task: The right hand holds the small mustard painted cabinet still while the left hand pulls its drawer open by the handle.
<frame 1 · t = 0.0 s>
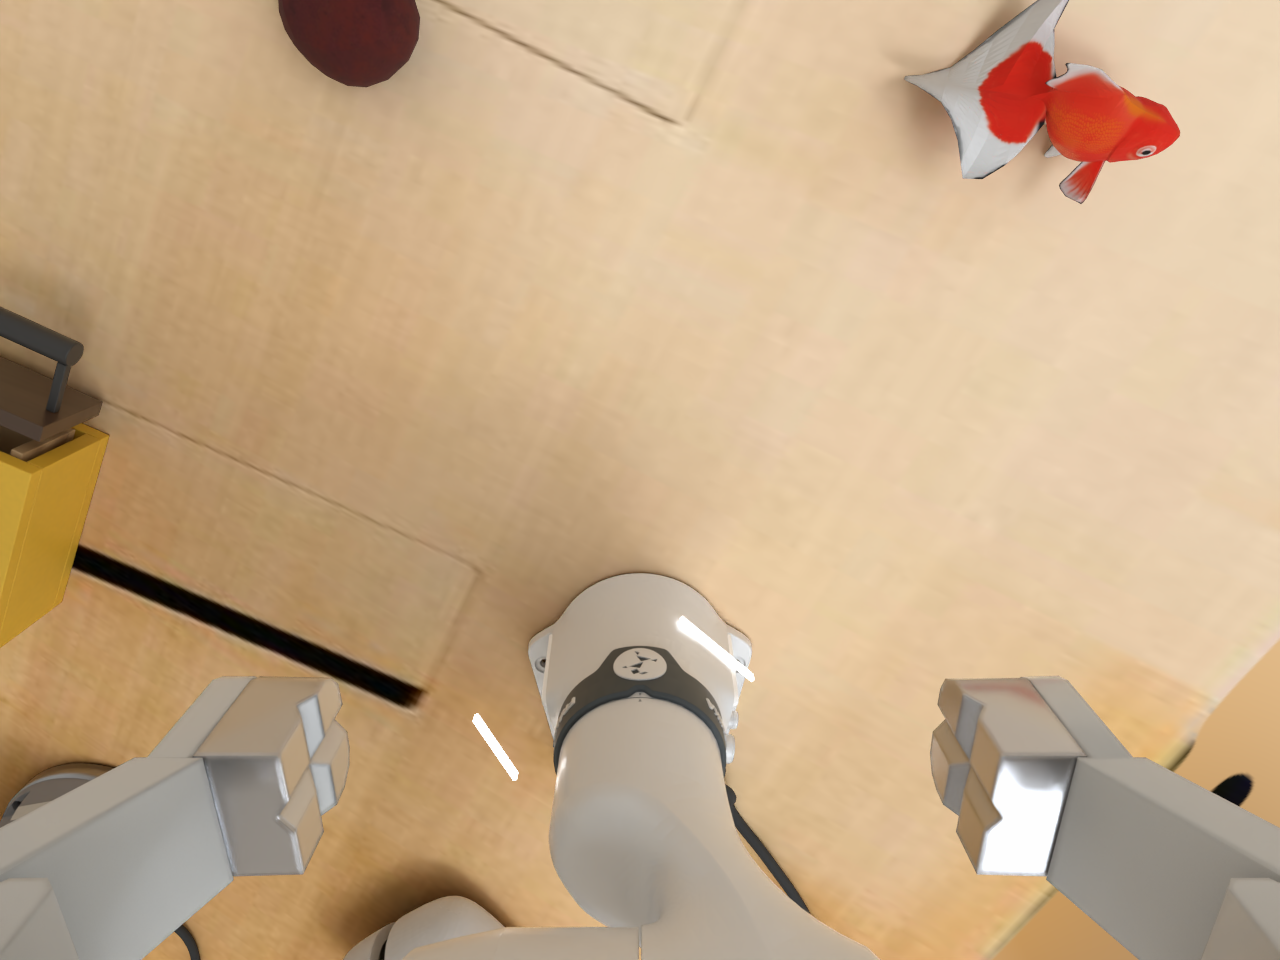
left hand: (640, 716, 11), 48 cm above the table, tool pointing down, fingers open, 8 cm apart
maroon ball: (371, 27, 50), on the table
cabinet: (14, 492, 61), on the table
fish: (1005, 114, 51), on the table
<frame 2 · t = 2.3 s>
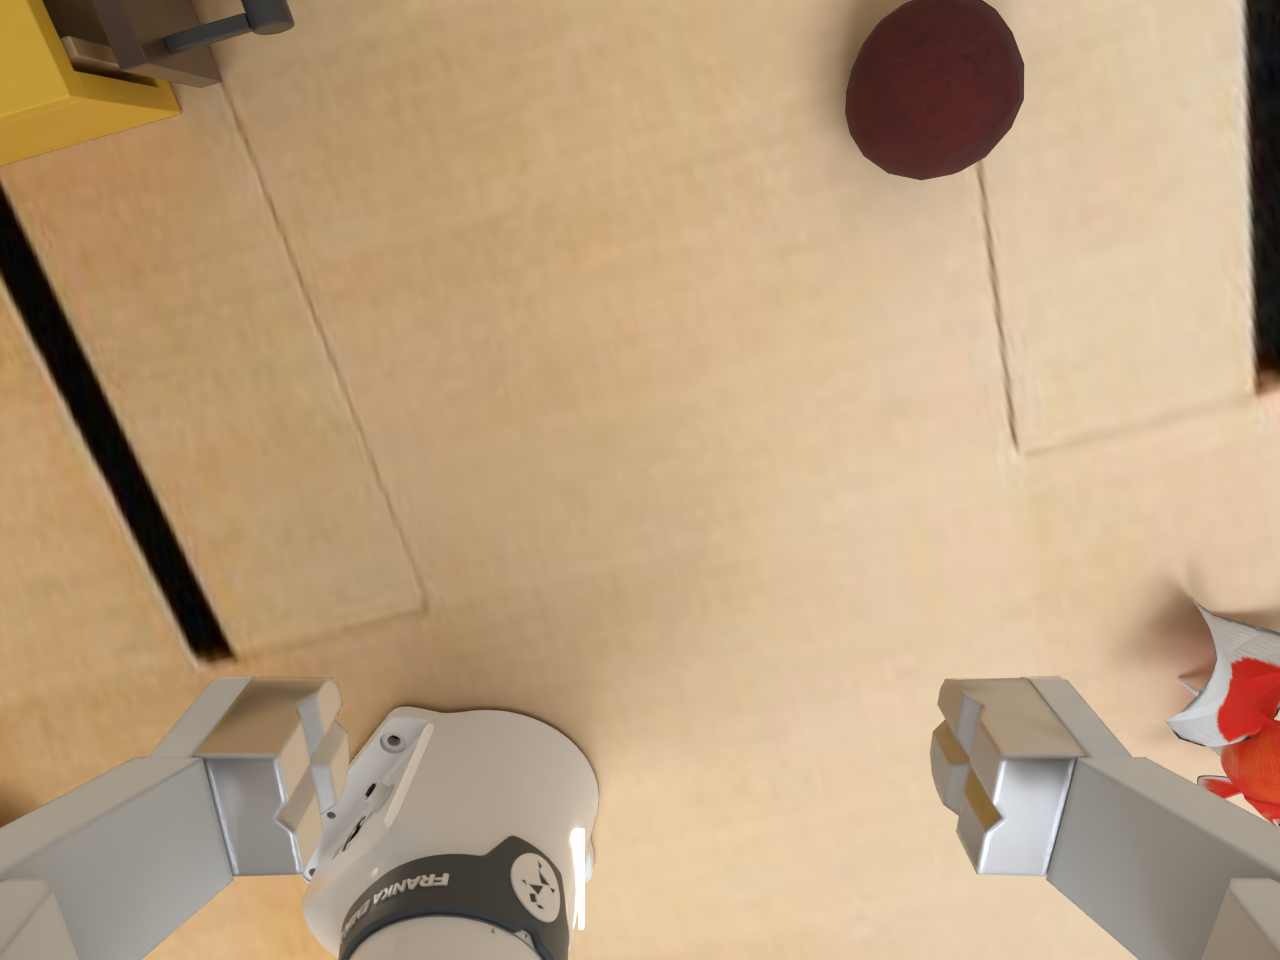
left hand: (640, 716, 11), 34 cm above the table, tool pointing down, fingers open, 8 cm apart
maroon ball: (904, 101, 39), on the table
fish: (1200, 678, 51), on the table
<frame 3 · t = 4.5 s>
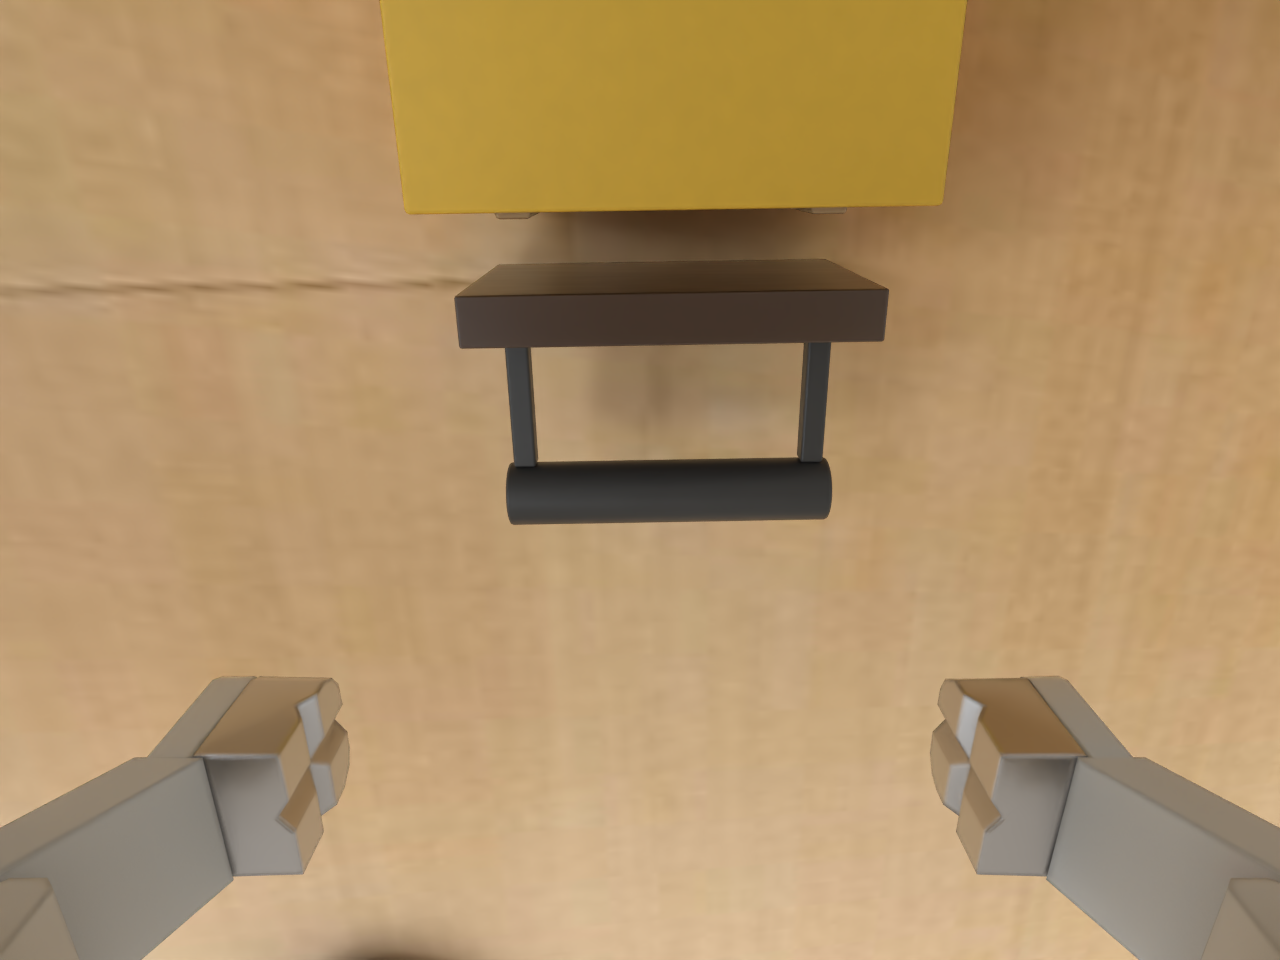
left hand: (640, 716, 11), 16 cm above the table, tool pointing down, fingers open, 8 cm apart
drawer: (665, 125, 19), point 4 cm above the table, slide at 1.8 cm
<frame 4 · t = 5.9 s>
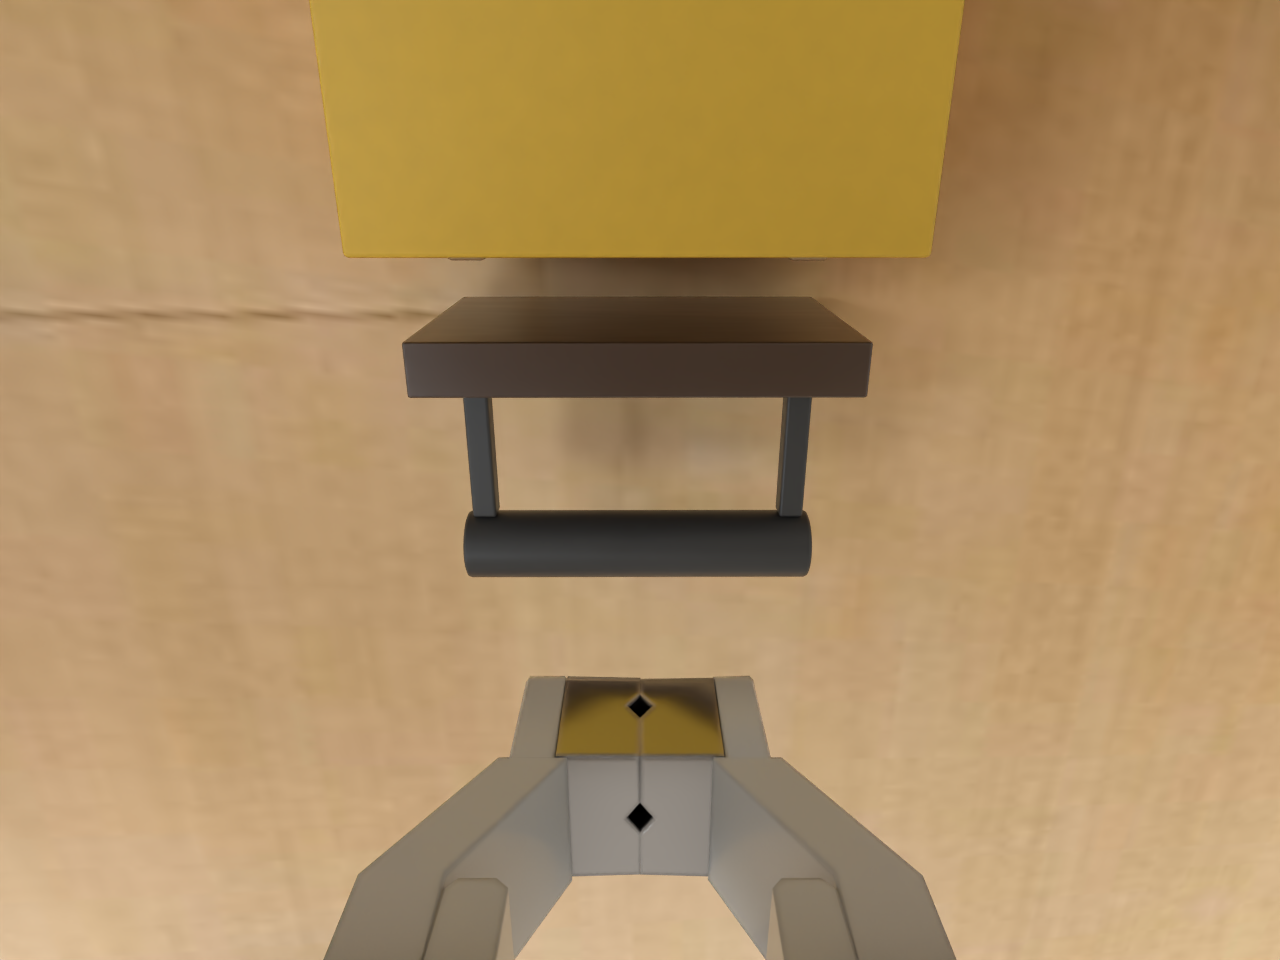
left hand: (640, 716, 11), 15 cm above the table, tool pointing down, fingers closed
drawer: (637, 158, 18), point 4 cm above the table, slide at 1.8 cm
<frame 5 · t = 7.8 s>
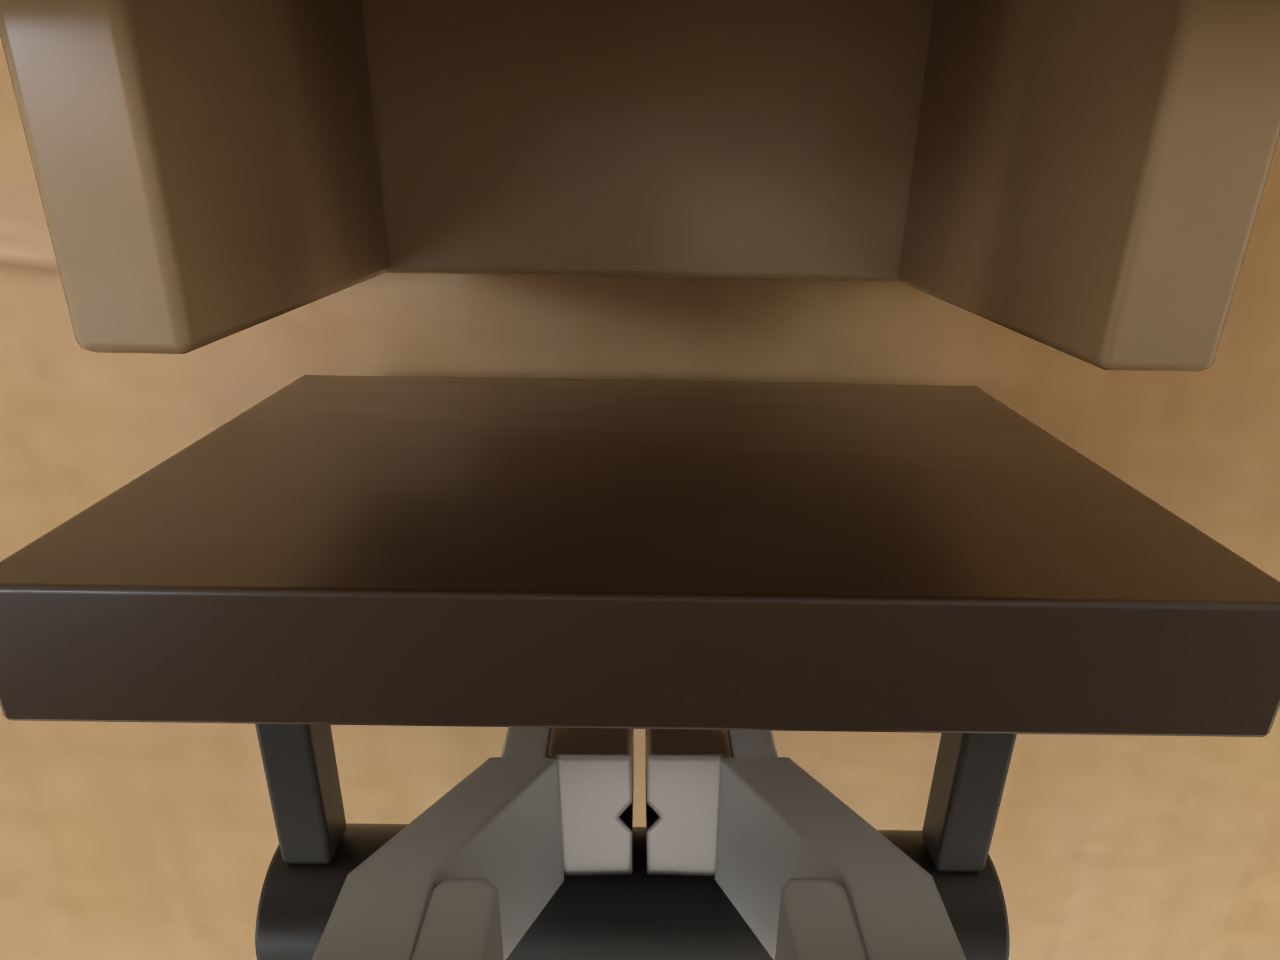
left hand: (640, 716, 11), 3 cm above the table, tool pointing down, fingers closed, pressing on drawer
drawer: (648, 84, 7), point 4 cm above the table, slide at 3.8 cm, touching left hand
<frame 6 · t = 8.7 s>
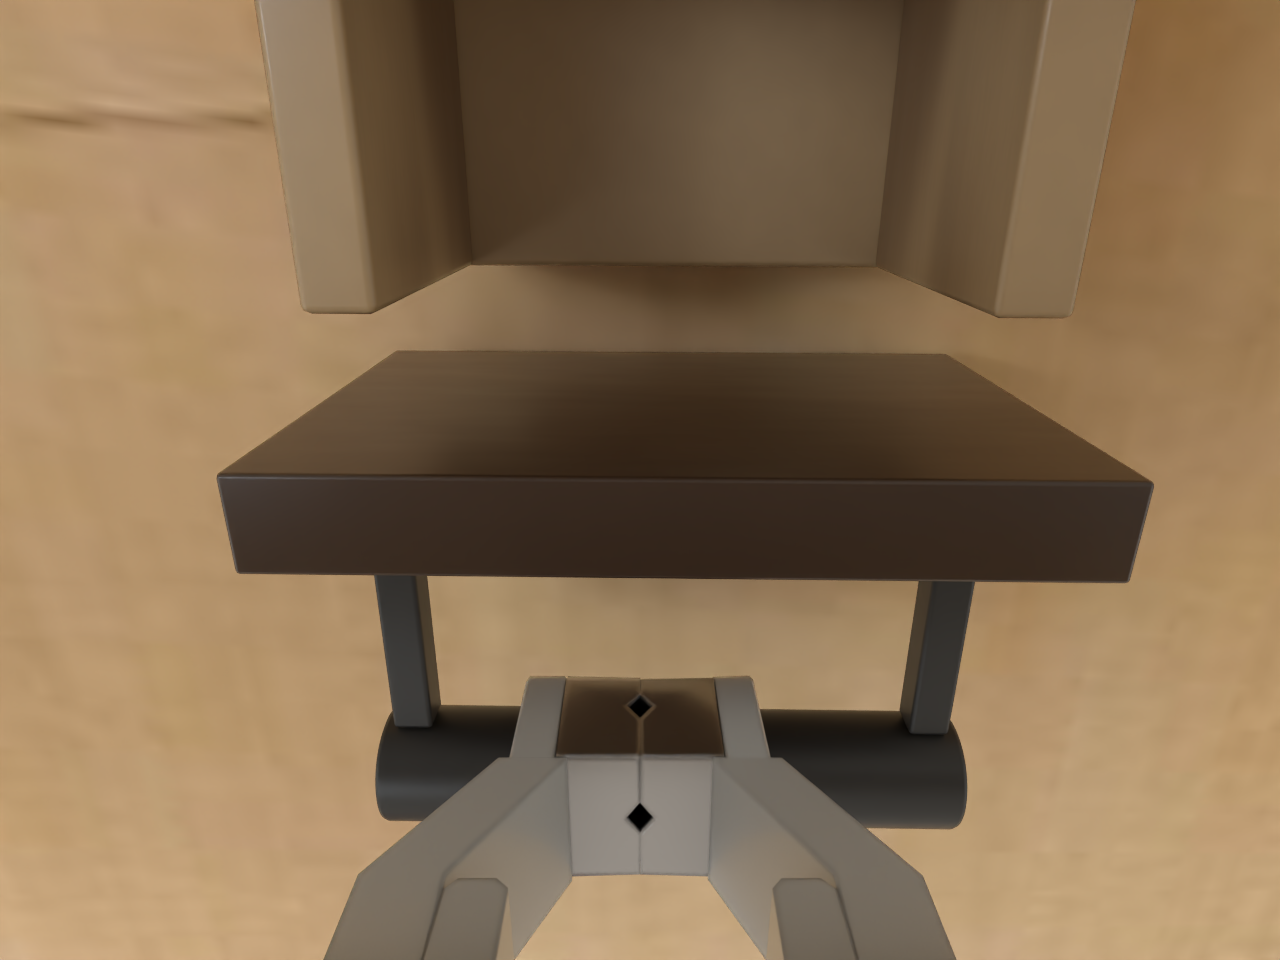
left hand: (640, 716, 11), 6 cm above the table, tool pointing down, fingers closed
drawer: (679, 120, 10), point 4 cm above the table, slide at 6.2 cm
when the right hand's fingers open (4 cm above the table, at t = 10.1 s): cabinet stays where it is, on the table.
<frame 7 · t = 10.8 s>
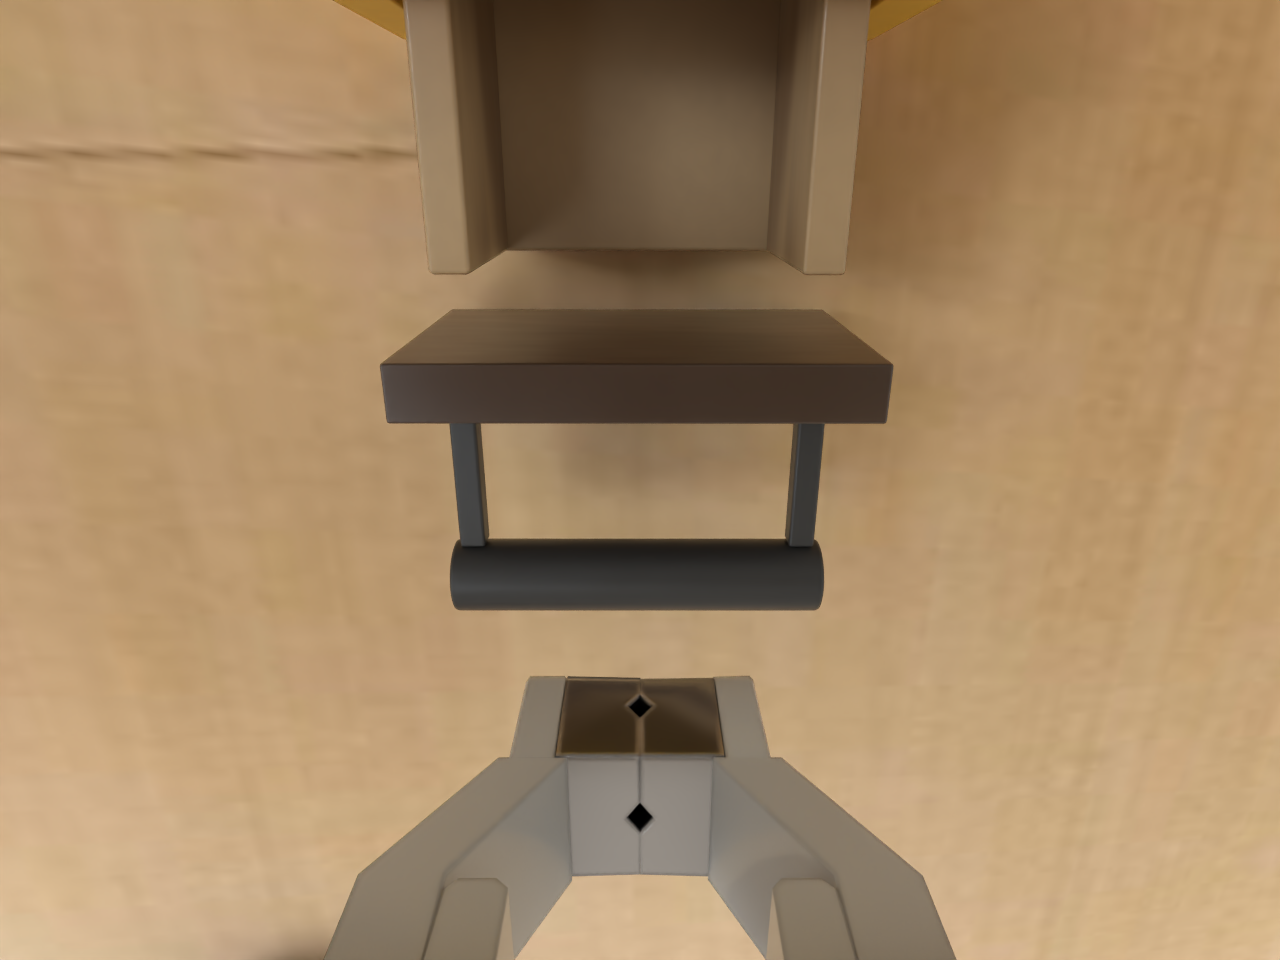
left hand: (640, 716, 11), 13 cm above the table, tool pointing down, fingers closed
drawer: (637, 162, 16), point 4 cm above the table, slide at 6.2 cm
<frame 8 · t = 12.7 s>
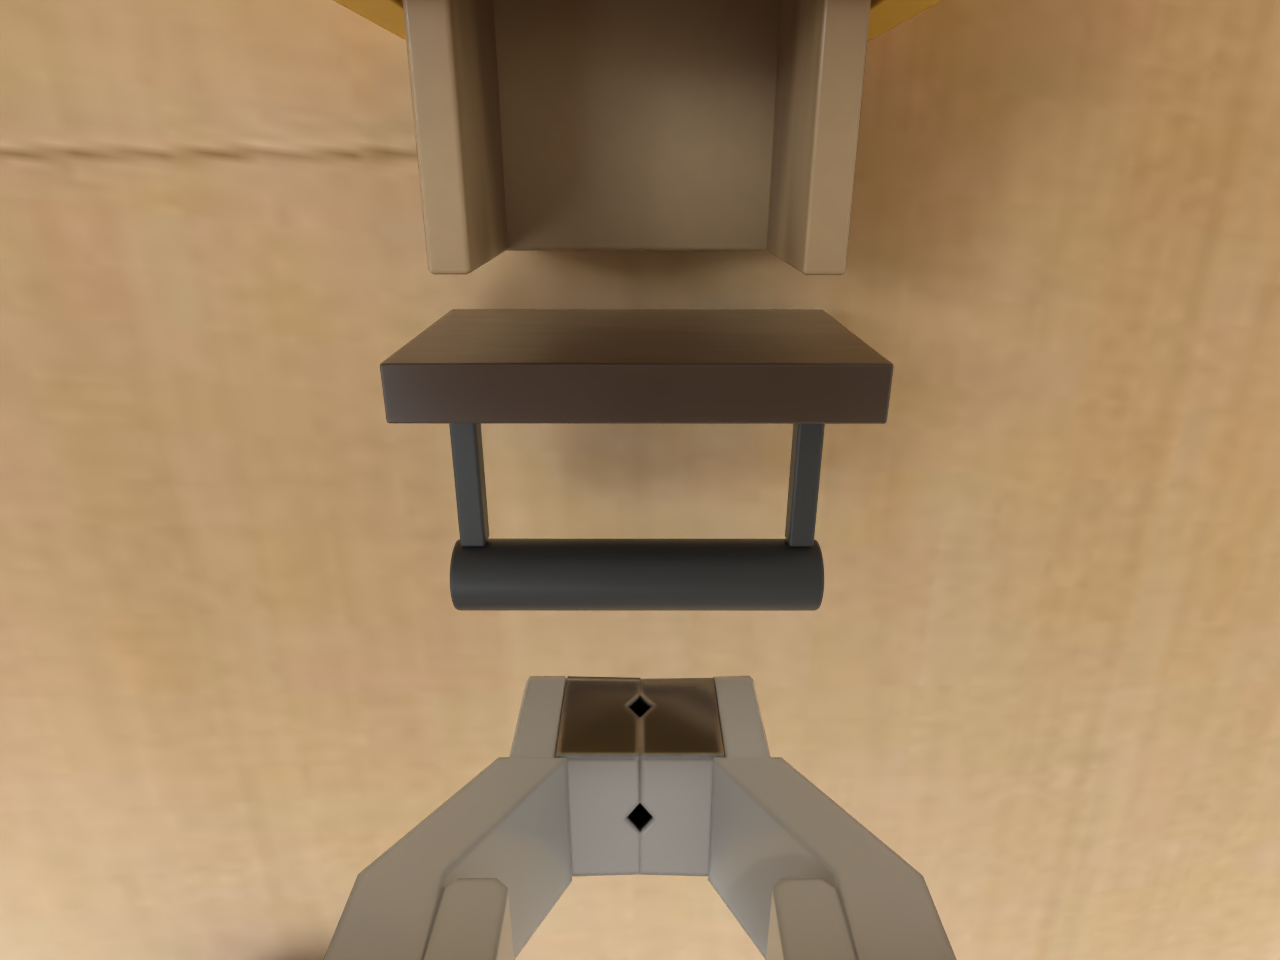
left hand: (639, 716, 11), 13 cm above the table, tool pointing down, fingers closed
drawer: (637, 162, 16), point 4 cm above the table, slide at 6.2 cm
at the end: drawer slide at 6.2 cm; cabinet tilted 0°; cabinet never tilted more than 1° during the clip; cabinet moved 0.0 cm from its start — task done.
